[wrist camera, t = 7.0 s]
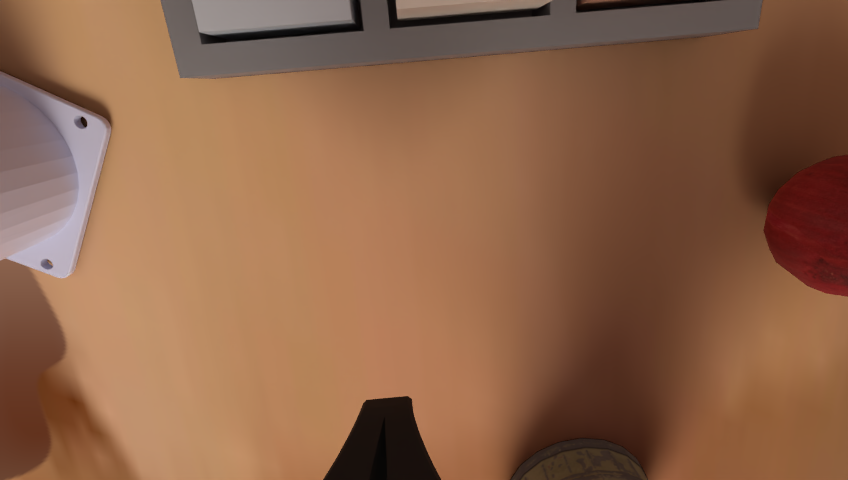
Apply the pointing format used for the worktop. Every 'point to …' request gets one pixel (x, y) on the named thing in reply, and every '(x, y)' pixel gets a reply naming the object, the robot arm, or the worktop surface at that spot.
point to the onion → (813, 226)
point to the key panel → (446, 35)
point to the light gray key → (273, 17)
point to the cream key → (460, 7)
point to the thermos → (581, 462)
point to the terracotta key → (617, 3)
